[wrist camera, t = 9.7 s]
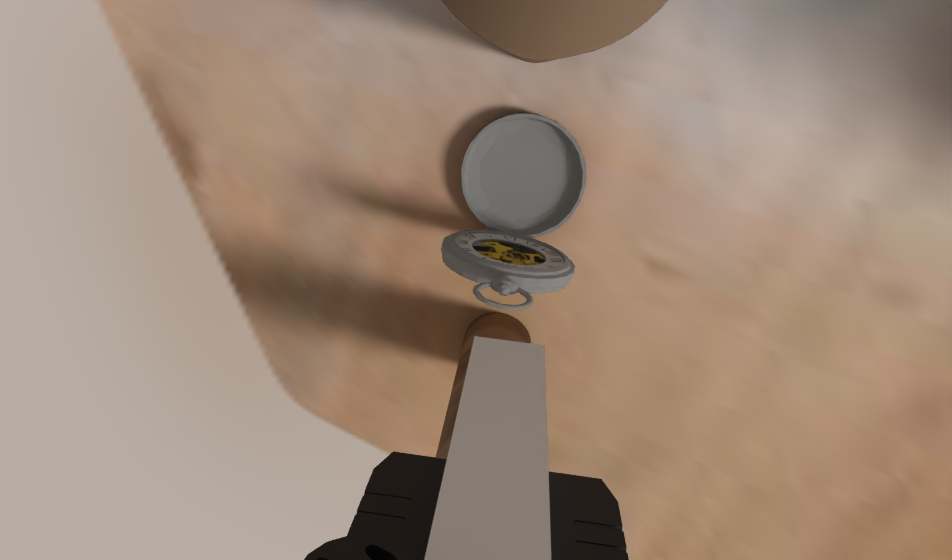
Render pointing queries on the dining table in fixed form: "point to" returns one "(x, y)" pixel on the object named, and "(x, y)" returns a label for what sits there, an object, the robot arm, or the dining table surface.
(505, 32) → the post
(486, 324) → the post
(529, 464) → the robot arm
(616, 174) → the dining table surface
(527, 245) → the pocket watch
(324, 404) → the dining table surface
